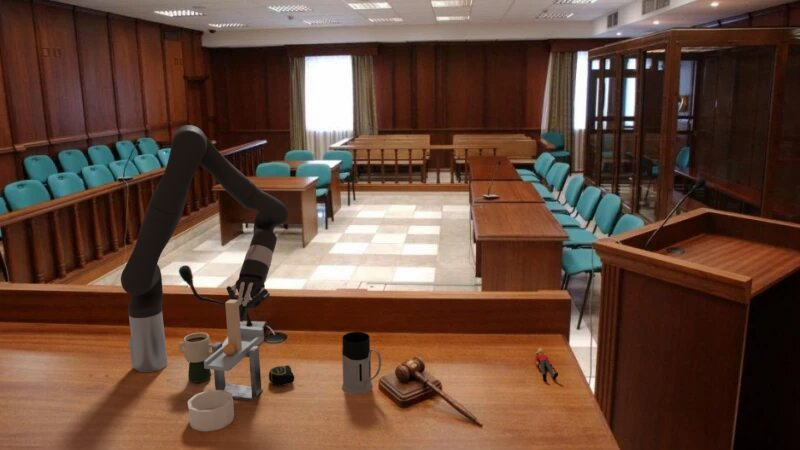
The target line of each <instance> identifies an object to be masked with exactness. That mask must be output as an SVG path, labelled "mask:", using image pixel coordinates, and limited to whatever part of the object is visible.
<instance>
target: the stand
mask: <svg viewBox="0 0 800 450" xmlns="http://www.w3.org/2000/svg"><path fill="white" fill-rule="evenodd" d="M213 344H214V345H213V346H212V347H211V351H212V354H213V353H215V352H216V351H217V350H218V349H220V348H221V347H222V346H223V342H219V341H217V342H215V343H213ZM248 358H249V360H248V362H249V373H250V374H249V375H250V386H249V385H243V384H242V385H241V384H234V383H226V376H225V375H226V373H225V372H226V371H222V370H213V377H214V386H215V389H214V390H224V391H227V392H229V393H231V394H232V398H233V400H240V401H248V402H249V401H250V402H254V401H255V400H256V398H258V396H259V395H260V394H261V393H262V392H263V391H264V389H263V387H262V376H261V375H262V374H261V365H260V363H261V361H260V347H259V345H258V346H253V347H252V348H251V349H250V350H249V357H248Z"/></svg>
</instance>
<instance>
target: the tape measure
mask: <svg viewBox="0 0 800 450" xmlns="http://www.w3.org/2000/svg"><path fill="white" fill-rule="evenodd" d="M268 380H269V382H270V383H271V384H272V385H274V386H285V385H288V384H292V383H294V381H295V374H294V373H293V371H292V367H291V366H290V365H287V364H286V365H285V366H283V365H281V366H280V365H277V366H275V367H272V368H271V369H270V370H269V371H268Z"/></svg>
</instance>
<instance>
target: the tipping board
mask: <svg viewBox="0 0 800 450" xmlns="http://www.w3.org/2000/svg"><path fill="white" fill-rule="evenodd" d="M224 304H225V305H224V306H225V317H226V329H227V331H226V332H227V340H228V341H227V342H225V344H222V347H221V348H220V349H218V350H217V351H216V352H215V353H213V354H212V355H210V357H209V358H207V359H206V360H205V361H204V368H205V369H210V370H213V371H214V370H222V371H224V372H230V371H231V370H233V368H234V367H235V366H237V365H238V364H239V363H240V362H241V361H242V360H243V359H245V358H249V350H250V349H251V348H252V347H253V346H258V347H259V345H260V344H261V343H262V342H263V341H265V334H264V333H265V331H264V328H263V327H255V326H254V327H253V326H246V325H245V326H244V325H241V322H240V316H239V302H238V300H231V299H228V300H227V301H226V302H225V303H224ZM227 344H232V345H233V346H234V347H235V352H234V353H233V354H232V355H230V356H228V355H226V354H224V351H223V349H224V347H225V346H226V345H227Z"/></svg>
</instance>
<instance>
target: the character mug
mask: <svg viewBox="0 0 800 450" xmlns="http://www.w3.org/2000/svg"><path fill="white" fill-rule="evenodd" d="M214 344H215V343H211V340H210V335H209V334H208V333H206V332H193V333H189V334H187V335H185V336H184V338H183V341H181V342H178V348H179V353H181V354H184V358H185V360H186V362H189V364H188V376H187V377H188V380H189V381H190V382H192V383H201V382H204V381H207V380H208V379H209V378H212V377H211V376H212V372H211V369H205V368H204V361H205V360H206V359H207V358H209V357H210V356H211V355H212V346H213V345H214Z"/></svg>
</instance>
